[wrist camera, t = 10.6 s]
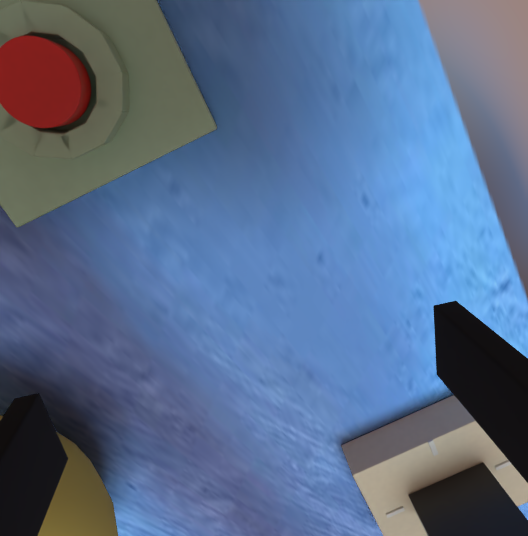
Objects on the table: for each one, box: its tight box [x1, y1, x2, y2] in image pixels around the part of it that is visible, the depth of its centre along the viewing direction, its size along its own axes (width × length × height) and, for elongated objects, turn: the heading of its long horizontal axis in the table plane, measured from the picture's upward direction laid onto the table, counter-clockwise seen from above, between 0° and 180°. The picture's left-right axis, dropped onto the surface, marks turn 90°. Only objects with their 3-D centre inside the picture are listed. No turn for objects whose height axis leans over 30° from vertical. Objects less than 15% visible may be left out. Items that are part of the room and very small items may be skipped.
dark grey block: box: [408, 462, 528, 536], centre depth 30 cm, size 6×2×7 cm, turn 115°
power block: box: [0, 0, 217, 227], centre depth 22 cm, size 12×10×4 cm
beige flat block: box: [341, 395, 528, 536], centre depth 34 cm, size 12×10×3 cm
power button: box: [0, 35, 91, 128], centre depth 19 cm, size 4×4×2 cm
